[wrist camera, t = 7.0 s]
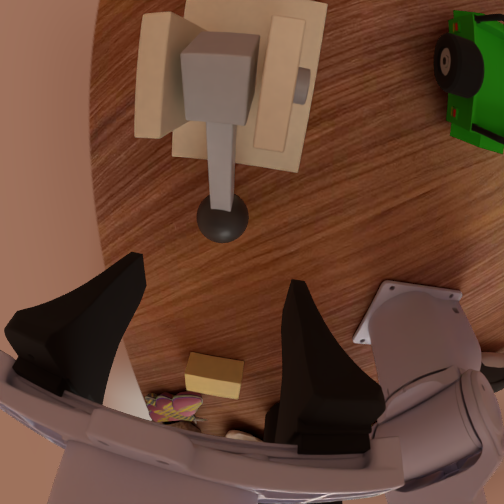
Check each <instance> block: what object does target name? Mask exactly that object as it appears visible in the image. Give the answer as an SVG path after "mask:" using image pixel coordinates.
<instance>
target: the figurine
mask: <svg viewBox="0 0 504 504" xmlns="http://www.w3.org/2000/svg"><path fill="white" fill-rule="evenodd" d="M481 356H482V358H481V368H480V372H481V373H482V374H483V375H484V376H485V377H486V379H487V380H488V382H489V384H490V385H491V387H492V389H493V391H494V393H495V392H498V391H499V390H502V389H503V388H504V354H501V353H493V352H481Z"/></svg>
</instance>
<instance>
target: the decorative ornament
mask: <svg viewBox="0 0 504 504" xmlns="http://www.w3.org/2000/svg"><path fill="white" fill-rule="evenodd" d="M145 399H146V401H147V402H148V403H147V405H146V406H147V408H148V409H149V410H150V411H149V415H150V417H151V418H152V420H154V421H155V422H166V421H177V420H186V421H194V422H195V424H196V423H197V421H206V420H207V419H203V418H199V417H195V415H194V413H195V412H196V411H197V409H198V408H199V407H200V405H201V404H202V403H203V400H202V397H201V394H200V393H198V392H193V391H186V392H180V393H178V394H177V395H176V396H175V395H172V394H170V393H167V392H165V393H162V394H160V395H159V396H158V395H156V394H154V393H150V394H148V395H147V396H146V397H145ZM196 420H197V421H196Z"/></svg>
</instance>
